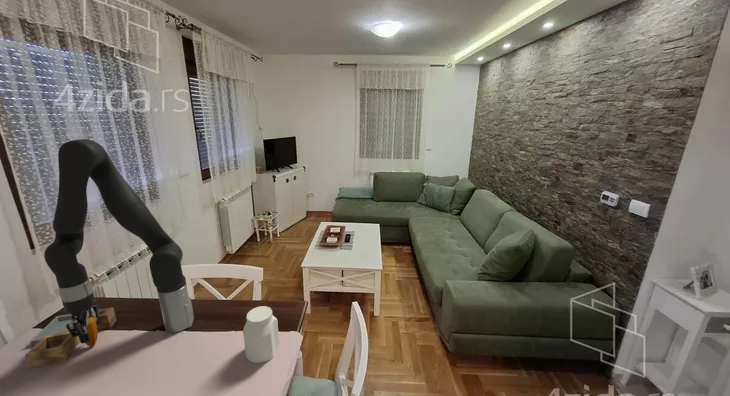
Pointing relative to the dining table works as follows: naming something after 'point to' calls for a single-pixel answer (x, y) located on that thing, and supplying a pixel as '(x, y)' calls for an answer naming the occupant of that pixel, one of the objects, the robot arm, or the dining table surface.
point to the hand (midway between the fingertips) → (89, 336)
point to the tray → (54, 327)
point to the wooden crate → (52, 349)
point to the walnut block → (105, 318)
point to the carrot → (91, 331)
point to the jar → (260, 335)
